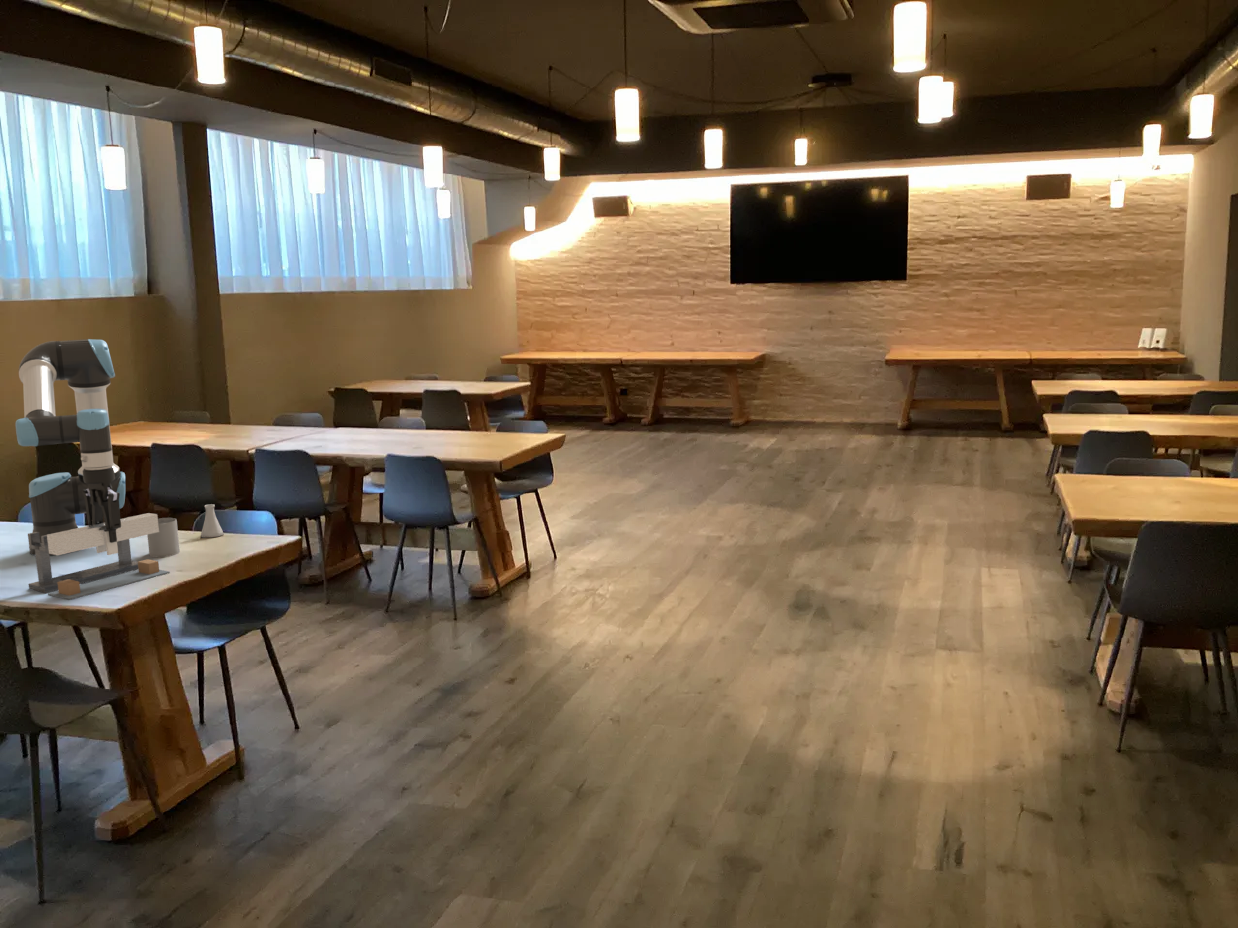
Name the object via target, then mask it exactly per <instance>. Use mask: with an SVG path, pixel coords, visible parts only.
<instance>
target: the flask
mask: <svg viewBox="0 0 1238 928" xmlns="http://www.w3.org/2000/svg"><path fill="white" fill-rule="evenodd" d="M203 507H204V508H205V515H204V516H205V517H204V522H203V525H202V529H201V534H200V538H216V537H221V536H223V535H224V532H223V529H222V527H221V525H220V522H219V520H218V519H217V516H216V513H215V507H216V506H215V504H212V503H211V504H205V505H204V506H203Z"/></svg>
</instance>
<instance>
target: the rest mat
mask: <svg viewBox="0 0 1238 928" xmlns="http://www.w3.org/2000/svg"><path fill="white" fill-rule="evenodd" d="M137 562H138V569H137V570H134V571H130V572H126V573H122V574H118V575H114V576H110V577H106V578H103V579H99V580H95V581H91V582H87V583H83V584H79V581H74V580H70V579H67V580H63V581H59V582H57V583H58V590H56V591H52V592H49V593H47V595H48V596H52V597H55V598H60V599H63V600H68V601H71V600H74V599H78V598H82V597H85V596H88V595H89V594H90V595H93V594H96V592H97V593H100V591H101V592H104V591H103V590H105V591H109V590H111V589H115V588H119V587H123V586H127V585H130V584H134V583H137V582H140V581H145V580H148V579H152V578H156V576H157V577H160V576H164V575H166V574H167V573H168V574H171V572H170V571H167V570H164V569H160V566H159V561H158V560H153V559H148V558H147V559H144V560H139V561H137ZM163 574H164V575H163ZM168 574H167V575H168Z"/></svg>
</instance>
